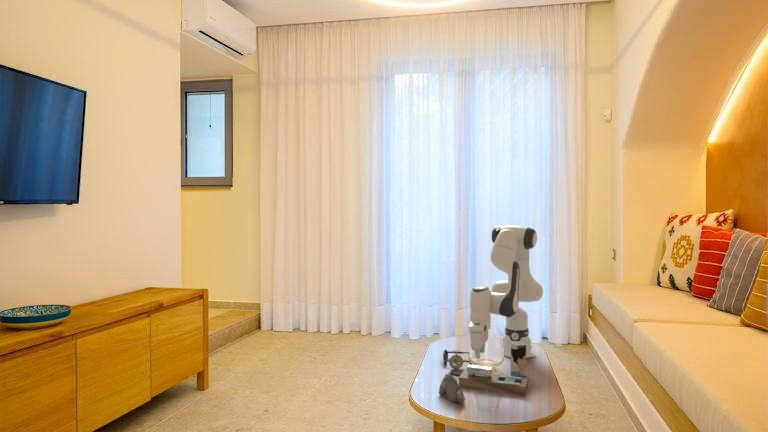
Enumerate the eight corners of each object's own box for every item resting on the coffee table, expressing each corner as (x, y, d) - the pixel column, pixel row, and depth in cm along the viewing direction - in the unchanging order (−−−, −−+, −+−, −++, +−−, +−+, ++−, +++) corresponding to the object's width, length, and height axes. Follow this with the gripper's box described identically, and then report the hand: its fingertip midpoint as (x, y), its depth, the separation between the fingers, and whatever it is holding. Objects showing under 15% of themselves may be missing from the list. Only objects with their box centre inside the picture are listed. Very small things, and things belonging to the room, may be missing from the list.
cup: (518, 379, 224) (519, 346, 224) (507, 374, 230) (507, 342, 229) (528, 376, 228) (529, 343, 227) (517, 371, 234) (517, 340, 233)
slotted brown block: (464, 378, 224) (464, 369, 224) (528, 387, 214) (528, 378, 213) (458, 386, 215) (458, 376, 215) (525, 396, 204) (525, 386, 204)
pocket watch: (457, 376, 227) (457, 355, 227) (444, 371, 234) (444, 350, 233) (469, 373, 232) (470, 352, 231) (457, 368, 239) (457, 347, 238)
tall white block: (469, 382, 220) (469, 364, 220) (491, 385, 216) (491, 367, 216) (467, 384, 217) (467, 366, 217) (490, 388, 213) (490, 369, 213)
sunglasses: (473, 368, 239) (473, 358, 239) (442, 366, 242) (442, 356, 241) (473, 359, 253) (473, 349, 253) (443, 357, 255) (443, 348, 255)
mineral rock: (465, 407, 194) (465, 382, 193) (437, 405, 195) (437, 380, 195) (465, 394, 207) (465, 370, 206) (439, 393, 208) (439, 369, 208)
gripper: (477, 318, 226) (477, 348, 227) (467, 328, 208) (467, 361, 208) (491, 319, 224) (491, 349, 224) (482, 329, 205) (482, 362, 205)
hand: (479, 355), depth 216 cm, fingers open, 8 cm apart
